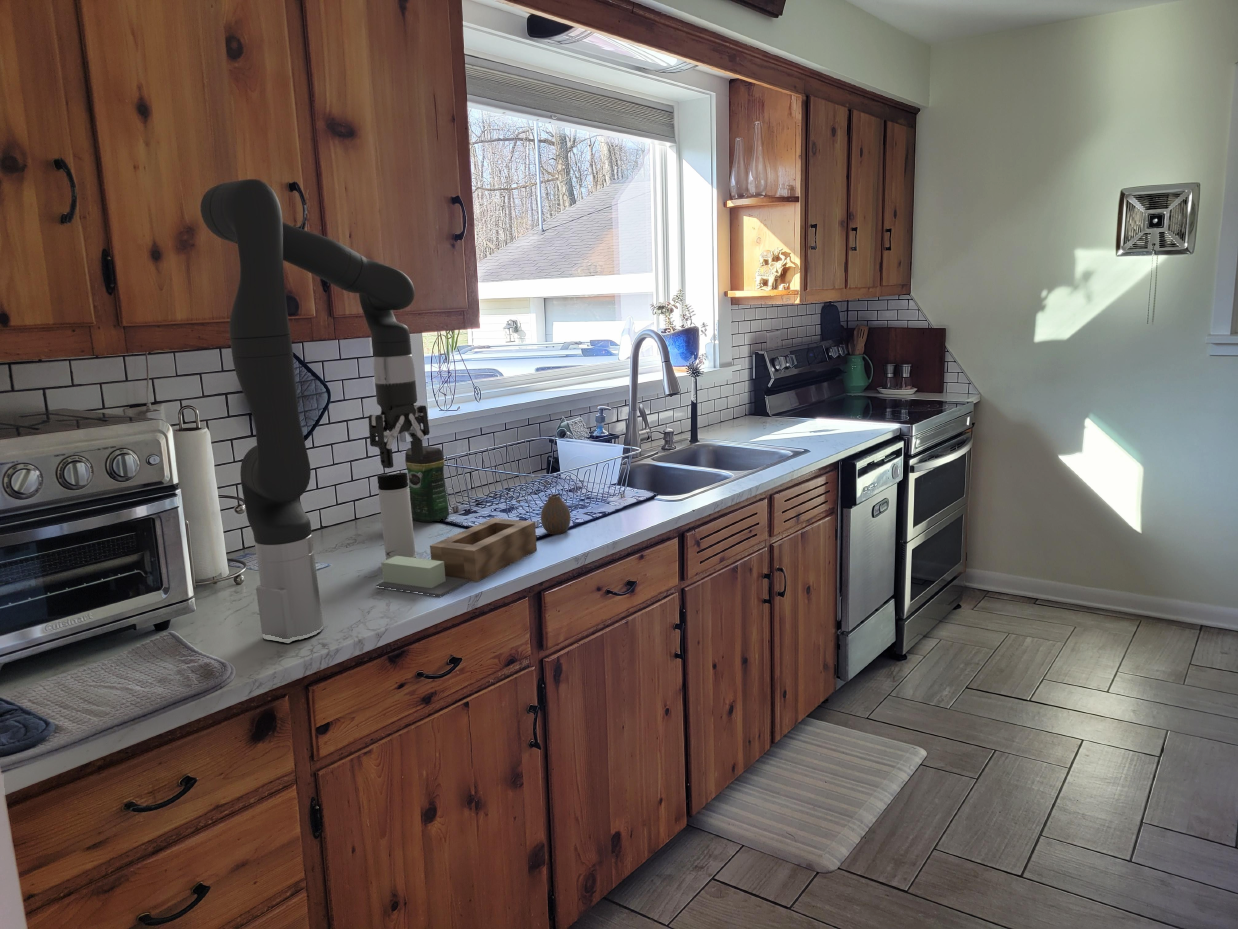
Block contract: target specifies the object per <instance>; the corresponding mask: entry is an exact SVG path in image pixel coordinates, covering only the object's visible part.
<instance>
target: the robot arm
mask: <svg viewBox="0 0 1238 929" xmlns="http://www.w3.org/2000/svg"><path fill="white" fill-rule="evenodd" d="M200 214H201V218H202V220H203V223H204V224H205V226H206V228H207V229H208V230H209V231H210V232H211V233H212V234H214V235H215V236H216V237H217V238H219V239H221V240H224V241H227V242H230V243H233V244H235V245H236V244H237V250H238V257H239V258H238V259H239V270H240V271H239V282H238V287H237V292H236V294H235V297H234V301H233V305H232V308H231V312H230V318H229V322H228V323H229V324H228V331H229V333H228V334H229V342H230V347H231V348H230V349H231V350H230V351H231V356H232V362H233V367H234V370H235V375H236V377H237V380H238V383H239V386H240V389H241V390H242V393H243V396H244V397H245V400H246V402H247V404H248V406H249V409H250V413H251V414H252V419H253V423H254V427H255V428H254V429H255V437H256V440H255V441H256V445H254V446H252V447H251V448H250V449H248V451H247V452H246V453H245V454H244V456H243V458H242V461H241V464H240V484H241V490H242V491H241V492H242V495H243V496H242V497H243V502H244V507H245V513H246V518H247V522H248V524H249V527H250V528H251V530H252V533H253V538H254V539H253V540H254V548H255V554H256V562H257V569H258V570H257V571H258V575H259V576H258V577H259V585H257V586H256V587H255V591H256V592H255V593H256V598H257V599H256V600H257V606H258V614H259V619H260V629H261V634H265V635H271V636H275V637H279V638H282V639H290V638H292V637H297V636H303V635H307V634H310V633H312V632H314V631H317V630H319V629H320V628H321V627H322V626H323V627H324V622H323V615H322V614H323V612H322V605H321V597H320V591H319V580H318V572H317V565H316V564H317V563H316V557H315V548H314V540H313V531H312V524H311V520H310V518H309V516H308V514H307V513H306V512H305V510H304V508H303V506H302V503H301V501H300V498H301V497H302V495H304V493H305V492H306V491H307V489H308V487H309V484H310V482H311V481H310V480H311V463H310V460H309V453H308V449H307V446H306V442H305V437H304V432H303V428H302V422H301V418H300V411H299V401H298V392H297V381H296V374H295V364H294V351H293V350H294V349H293V344H292V342H293V341H292V336H291V327H290V322H289V315H288V304H287V293H286V286H285V284H286V282H285V274H284V273H285V272H284V262H286V263H289V264H291V265H293V266H295V267H297V268H300V269H302V270H304V271H306V272H307V273H309V274H312V275H314V276H316V277H317V278H319V279H321V280H323V281H325V282H327V283H329V284H331V285H333V286H334V287H337V288H339V289H341V290H342V291H345V292H348V293H351V294H358V298H359V304H360V307H361V310H362V312H363V316H364V318H365V321H366V324H367V328H368V329H369V331H370V333H371V342H372V345H371V346H372V354H373V377H374V386H375V389H374V390H375V397H376V398H375V399H376V404H377V406H379V407H380V413H379V414H369V415H368V431H369V432H368V433H369V446H370V447H374V448H378V450H379V459H380V465H381V466H382V468H383V469H392V468H394V457H393V456H394V455H393V449H392V448H391V447H392V445H393V443H394V440H395V439H397V438H398V435H399V434H403V433H406V434H407V435H408V437H409V438H410V439H411V440H410V448H411V453H412V458H413V459H415V460H420V459H422V458H423V446H424V445H423V440H424V438H425V437H426V436H429V435H430V425H429V417H428V410H427V406H426V405H422V404H421V405H419V404H417V402H418V394H417V392H418V391H417V383H416V370H415V364H414V359H413V355H412V353H413V352H412V344H411V334H410V328H409V327H408V326H407V325H406V324H404V323H401V322H398V321H397V319H396V317H395V315H394V312H393V311H400V310H405V309H406V308H408V307H410V305H412V303H413V302H414V299H415V296H416V290H415V286H414V283H413V282H412V280H411V279H410V277H409V276H408V275H406V274H405V273H404V272H403V271H401V270H400V269H397V268H395V267H392V266H390V265H387V264H385V263H384V264H383V263H381V262H379V261H376V260H373V259H369V258H367V257H365V256H363V255H362V254H359V253H358V252H356V251H355V250H353V249H351V248H349V247H348V246H346V245H344V244H342V243H340V242H338V241H336V240H334V239H331V238H329V237H327V236H324V235H321V234H318V233H315V232H312V231H308V230H305V229H303V228H300V227H296V226H294V225H292V224H289V223H286V222H285V221H283V213H282V207H281V204H280V201H279V198H278V196H277V194H276V192H275V190H273V189H272V187H271V186H270V185H268V183H266V182H264V181H263V180H261V179H257V178H248V179H247V178H246V179H241V180H234V181H228V182H223V183H219V184H217V185H215V186H212V187H211V188H209V189H208V190H207V191H206V192H205V193H204V195H203V196H202V198H201V200H200ZM415 404H417V405H415Z"/></svg>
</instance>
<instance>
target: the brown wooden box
mask: <svg viewBox="0 0 1238 929" xmlns="http://www.w3.org/2000/svg"><path fill="white" fill-rule="evenodd" d="M536 530H537V529H536V521H531V520H520V519H519V520H518V519H508V518H507V519H506V518H498V517H492V518H489V519H488V520H485V521H483V522H481V523H478V524H476V525H474V526H471V527H469V528H467V529H465V530H462V531H459V532H457V533H455V534H452V535H451V536H448V537H446V538H444V539H442V540H440V541H437V542H435V543H432V544H431V545H429V549H430V550H429V551H430V552H429V553H430V560H436V561H444V568H445V576H448V577H455V578H463V579H469V582H474V583H478V582H481V581H482V580H485V579H486V578H488V577H489V576H491V575H493V574H496V573H497V572H499V571H501V570H503V569H505V568H507V567H509V566H510V565H512V564H515V563H516V562H518V561H520V560H522V559H524V558H525V557H528V556H530V555H531V554H533V553H535V552H537V551H538V548H537V547H538V546H537V532H536Z"/></svg>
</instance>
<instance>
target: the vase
mask: <svg viewBox="0 0 1238 929" xmlns="http://www.w3.org/2000/svg"><path fill="white" fill-rule="evenodd" d="M540 523H541V525H542V528H543V530H544V531H545V532H546V533H547V534H549V535H561V534H564V533H566V532H567V531H568V530H569V528H570V524H571V512H570V509H569V506H568V504H566V503H565V501H564V500H563V499H562V498H561V496H560V494H550V495H549V496H548V498H547V500H546V502H545V503H544V504H543V507H542V509H541V512H540Z"/></svg>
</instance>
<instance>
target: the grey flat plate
mask: <svg viewBox="0 0 1238 929" xmlns="http://www.w3.org/2000/svg"><path fill="white" fill-rule="evenodd" d="M445 578H446V581H444V582H442V583H440V584H438V585H437V586H435V587H433V588H427V587H419V586H412V585H405V584H398V583H390V582H383V581H382V582H379V583H377V584H375V587H376V586H379V587H384V588H391V589H396V590H403V591H410V592H418V593H423V594H429V595H435V596H434V597H436V596H442V595H444V594H446V595H448V594H449V592H450V593H451V592H453V591H456V590H458V589H459V588H461V587H463V586H465V585H466V584H467V585H468V583H470V581H469V579H463V578H455V577H448V576H445ZM447 593H448V594H447ZM423 594H422V595H423ZM429 595H428V596H429ZM444 596H445V595H444ZM442 597H443V596H442Z"/></svg>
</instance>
